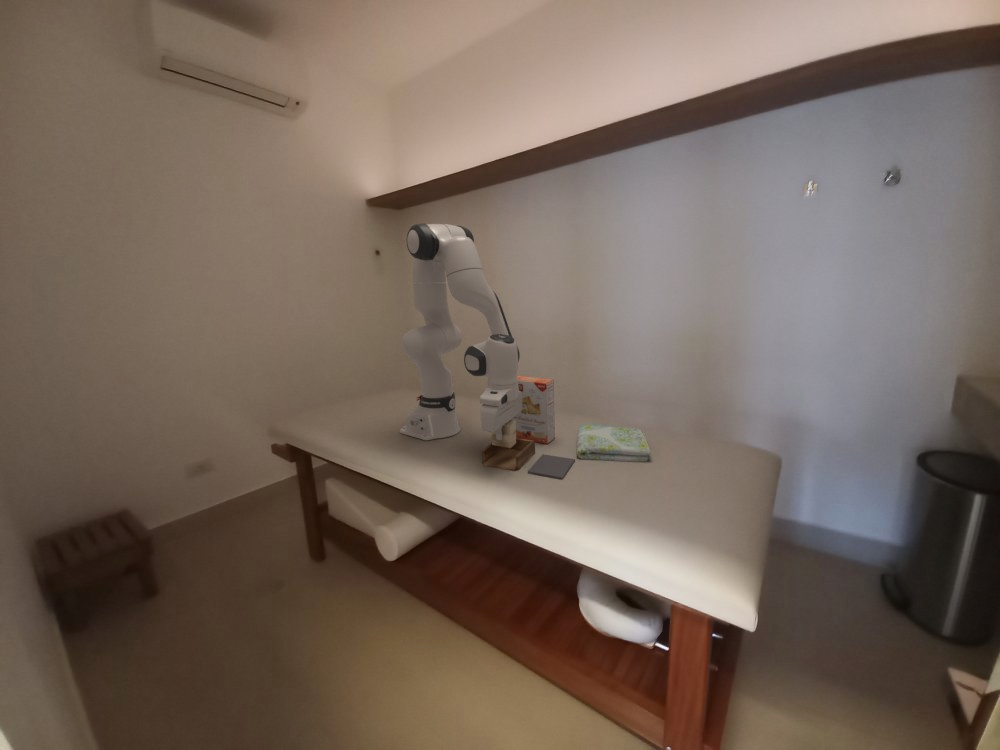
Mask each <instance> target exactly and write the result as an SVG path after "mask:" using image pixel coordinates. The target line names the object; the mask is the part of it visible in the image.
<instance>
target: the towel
mask: <svg viewBox="0 0 1000 750" xmlns="http://www.w3.org/2000/svg"><path fill="white" fill-rule="evenodd" d="M575 451H576V457H578V458H579V459H580V460H594V461H596V460H597V461H598V460H600V461H615V462H617V461H618V462H632V463H634V462H635V463H637V462H638V463H645V462H648V461H649V456H650V455H651V449H650V446H649V444H648V442H647V438H646V433H645V431H643V430H642V429H640V428H638V427H624V426H613V425H605V424H604V425H603V424H594V423H593V424H592V423H591V424H590V423H588V424H587V423H586V424H585V423H584V424H582V425H579V427H578V429H577V437H576V450H575Z"/></svg>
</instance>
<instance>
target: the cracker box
mask: <svg viewBox="0 0 1000 750" xmlns="http://www.w3.org/2000/svg"><path fill="white" fill-rule="evenodd" d="M517 377H518V387H519V391H520V392H521V395H522V411H521V413H519V414H518V415H517V416H515V417H514V418H513V421H516V438H520V439H527V440H534V441H535V443H539V444H544V445H549V444H550V442H552V441H554V440H555V438H556V437H555V436H556V435H555V434H556V433H555V432H556V431H555V429H556V428H555V427H556V426H555V379H550V378H543V377H542V378H541V377H533V376H524V375H517Z"/></svg>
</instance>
